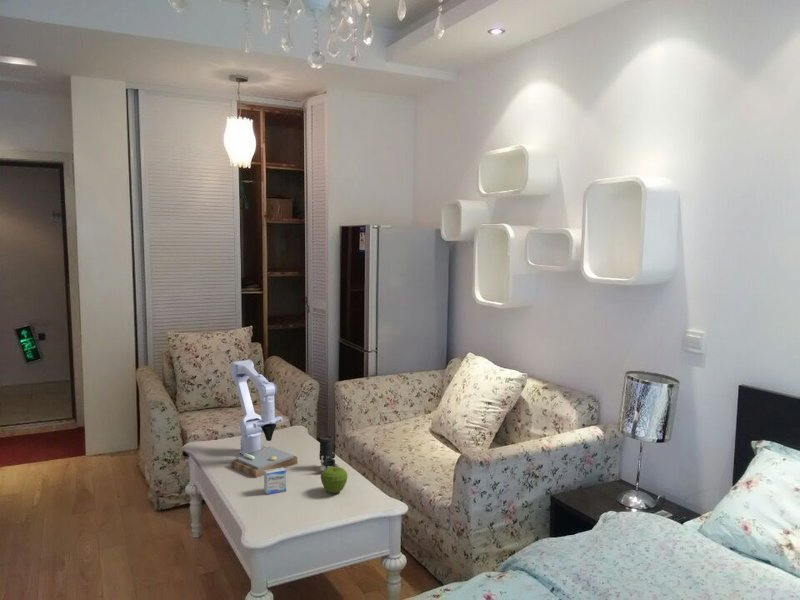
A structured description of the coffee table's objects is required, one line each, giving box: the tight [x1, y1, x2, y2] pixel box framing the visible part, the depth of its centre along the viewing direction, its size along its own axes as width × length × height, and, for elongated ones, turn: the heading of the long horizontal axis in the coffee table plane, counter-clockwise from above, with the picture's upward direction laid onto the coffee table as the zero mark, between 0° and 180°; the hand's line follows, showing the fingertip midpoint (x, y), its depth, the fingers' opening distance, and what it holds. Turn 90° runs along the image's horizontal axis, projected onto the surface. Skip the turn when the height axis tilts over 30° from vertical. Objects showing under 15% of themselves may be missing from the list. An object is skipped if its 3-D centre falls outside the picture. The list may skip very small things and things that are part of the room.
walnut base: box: [231, 455, 298, 478], centre depth 269 cm, size 18×22×3 cm
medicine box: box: [263, 467, 287, 495], centre depth 241 cm, size 8×4×9 cm, turn 117°
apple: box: [320, 466, 349, 494], centre depth 240 cm, size 11×10×10 cm
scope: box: [318, 435, 340, 472], centre depth 264 cm, size 8×14×10 cm
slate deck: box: [235, 446, 295, 469], centre depth 269 cm, size 17×19×3 cm
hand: (268, 440), depth 271 cm, fingers closed
